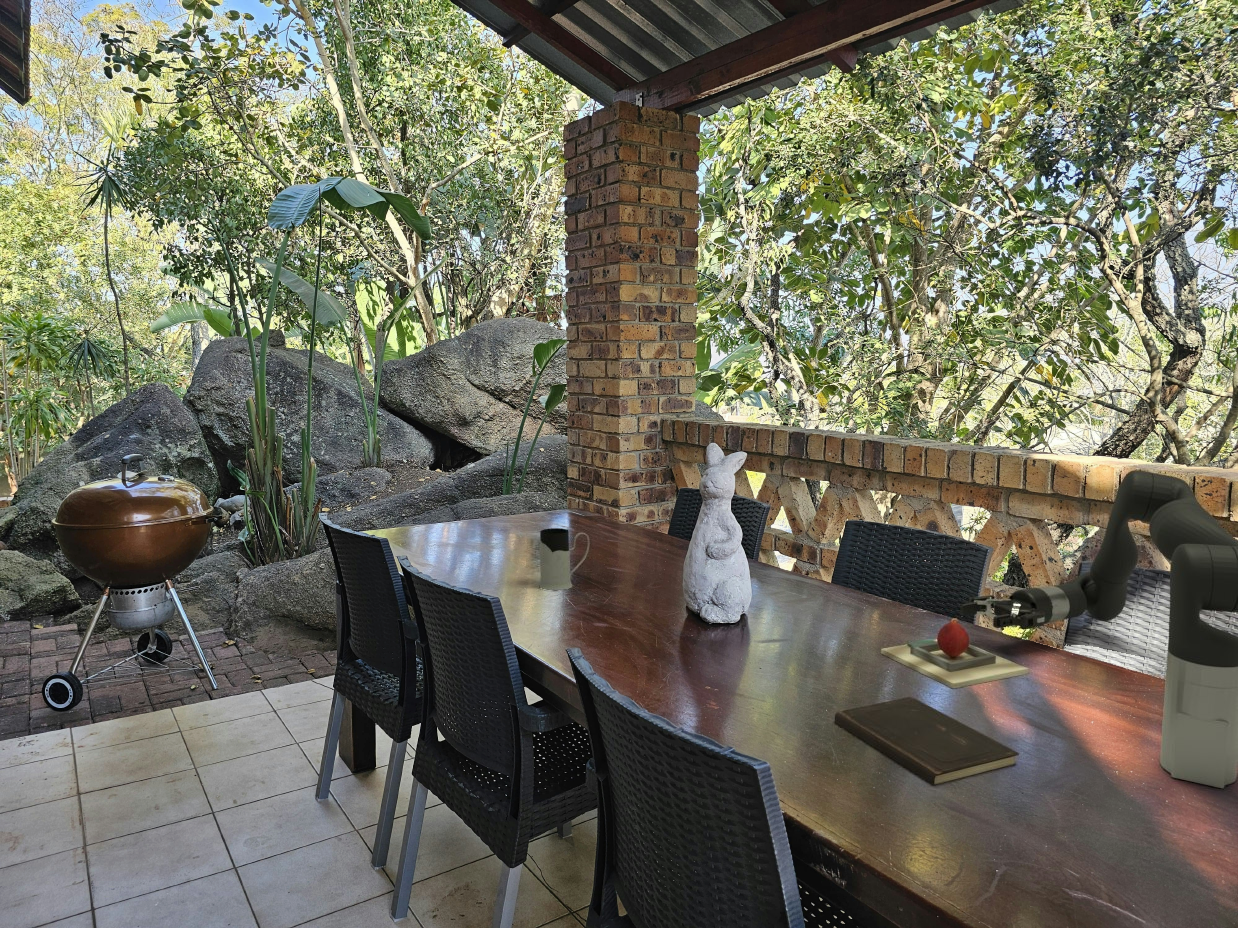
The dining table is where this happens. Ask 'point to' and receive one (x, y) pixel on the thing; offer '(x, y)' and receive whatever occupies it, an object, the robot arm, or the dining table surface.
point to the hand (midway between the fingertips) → (977, 616)
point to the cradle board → (953, 663)
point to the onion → (953, 639)
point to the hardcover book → (925, 740)
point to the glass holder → (556, 558)
